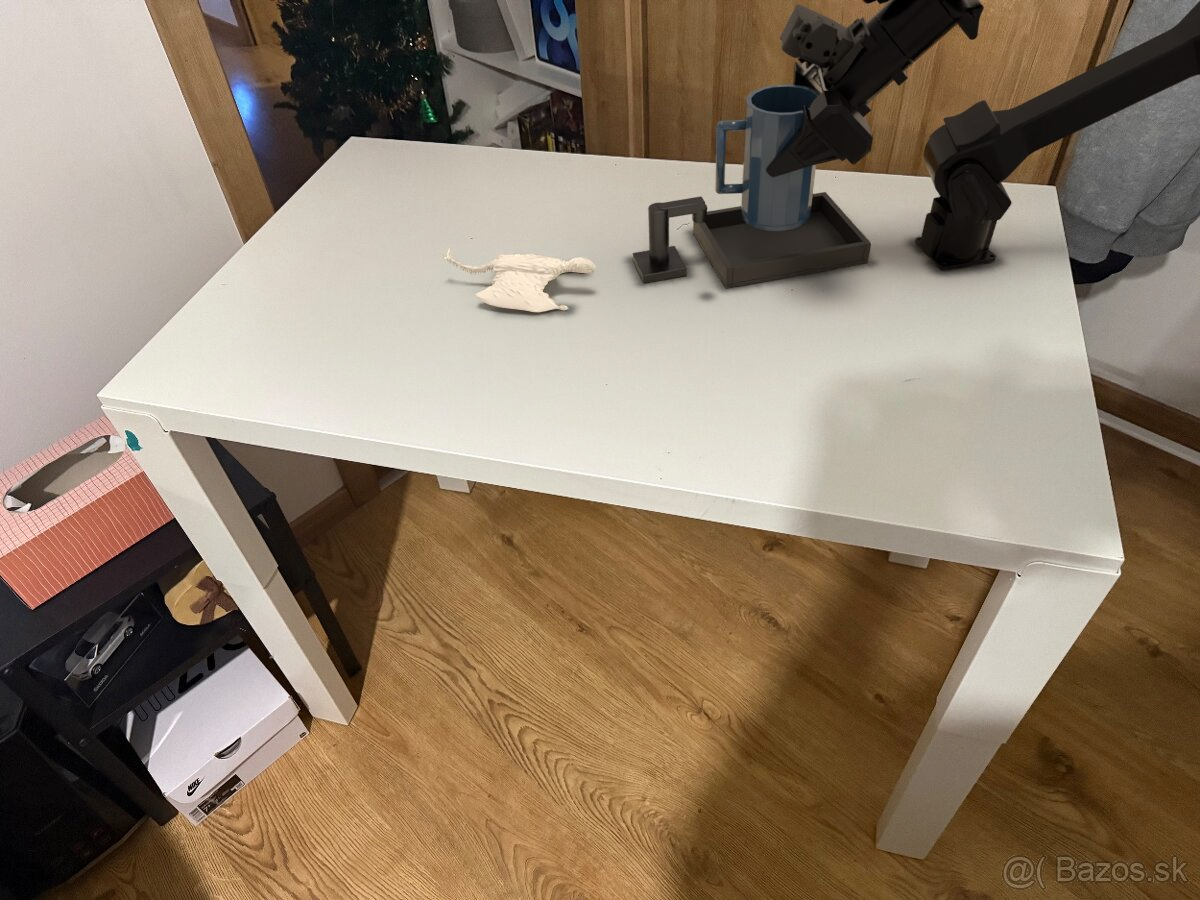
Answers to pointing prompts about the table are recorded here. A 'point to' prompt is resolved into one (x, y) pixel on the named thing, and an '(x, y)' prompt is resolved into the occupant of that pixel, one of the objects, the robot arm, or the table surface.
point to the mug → (769, 159)
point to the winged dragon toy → (524, 280)
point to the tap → (666, 239)
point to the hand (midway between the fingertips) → (766, 156)
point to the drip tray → (781, 245)
